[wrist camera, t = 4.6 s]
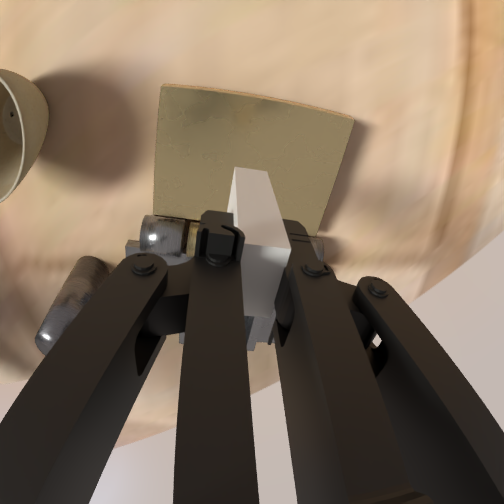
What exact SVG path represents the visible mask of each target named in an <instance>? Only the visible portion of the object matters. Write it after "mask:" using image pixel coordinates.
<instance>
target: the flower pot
mask: <svg viewBox="0 0 504 504" xmlns="http://www.w3.org/2000/svg"><path fill="white" fill-rule="evenodd" d="M11 115H13V117H12V116H11ZM48 121H49V109H48V105H47V102H46V99H45V97H44V95H43V94H42V92H41V91H40V90H39V89H38V87H37V86H36V85H34V84H33V83H32V82H31V81H29V80H28V79H26V78H25V77H23V76H21V75H19V74H17V73H14V72H11V71H8V70H4V69H0V203H1V202H3V201H4V200H5V199H6V198H7V197H8V196H9V195H10V194H11V193H12V192H13V191H14V190H15V189H16V187H17V186H18V185H19V184H20V182H21V181H22V180H23V178H24V177H25V176H26V174H27V173H28V171H29V170H30V168H31V166H32V165H33V163H34V161H35V160H36V158H37V156H38V154H39V152H40V149H41V147H42V145H43V142H44V139H45V136H46V132H47V128H48Z"/></svg>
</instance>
